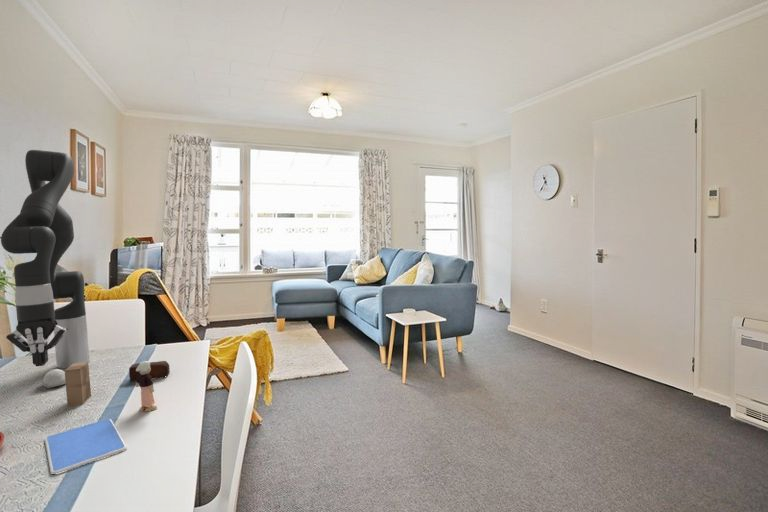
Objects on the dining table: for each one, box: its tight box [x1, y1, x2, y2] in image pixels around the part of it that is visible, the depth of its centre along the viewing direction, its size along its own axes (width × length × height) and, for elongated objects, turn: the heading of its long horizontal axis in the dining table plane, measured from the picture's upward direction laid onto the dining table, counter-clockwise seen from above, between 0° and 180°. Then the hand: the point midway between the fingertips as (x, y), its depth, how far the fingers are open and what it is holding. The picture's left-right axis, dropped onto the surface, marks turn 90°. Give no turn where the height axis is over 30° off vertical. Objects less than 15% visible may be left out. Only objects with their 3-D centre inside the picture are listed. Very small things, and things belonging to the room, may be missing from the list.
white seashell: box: [42, 368, 66, 389], centre depth 121 cm, size 9×8×5 cm
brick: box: [128, 360, 170, 382], centre depth 125 cm, size 11×4×5 cm, turn 109°
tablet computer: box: [44, 418, 128, 475], centre depth 86 cm, size 19×13×1 cm, turn 44°
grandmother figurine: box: [135, 360, 158, 413], centre depth 103 cm, size 8×4×13 cm, turn 71°
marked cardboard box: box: [63, 362, 92, 407], centre depth 108 cm, size 6×4×10 cm, turn 20°
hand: (40, 365), depth 105 cm, fingers closed
